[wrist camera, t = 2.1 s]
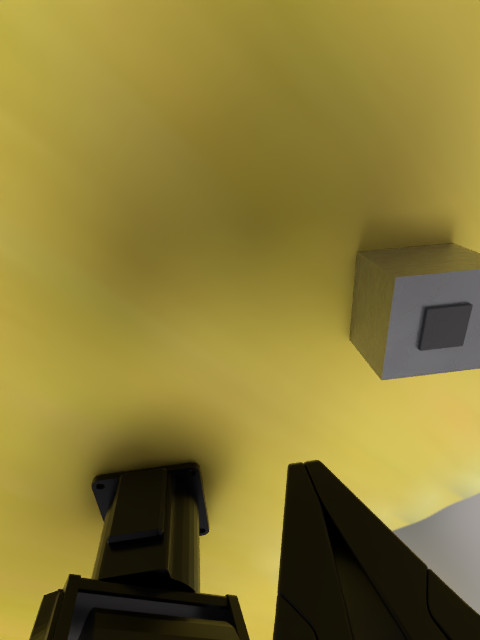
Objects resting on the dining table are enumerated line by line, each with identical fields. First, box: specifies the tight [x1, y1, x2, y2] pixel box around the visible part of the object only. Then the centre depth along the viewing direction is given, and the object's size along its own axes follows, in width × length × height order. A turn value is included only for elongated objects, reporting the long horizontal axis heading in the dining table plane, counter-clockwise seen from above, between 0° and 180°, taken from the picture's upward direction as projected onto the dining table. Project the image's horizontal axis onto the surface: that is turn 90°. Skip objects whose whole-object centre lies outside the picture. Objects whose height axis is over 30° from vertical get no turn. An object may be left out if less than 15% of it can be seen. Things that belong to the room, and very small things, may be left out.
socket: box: [349, 243, 480, 380], centre depth 18 cm, size 5×5×4 cm
